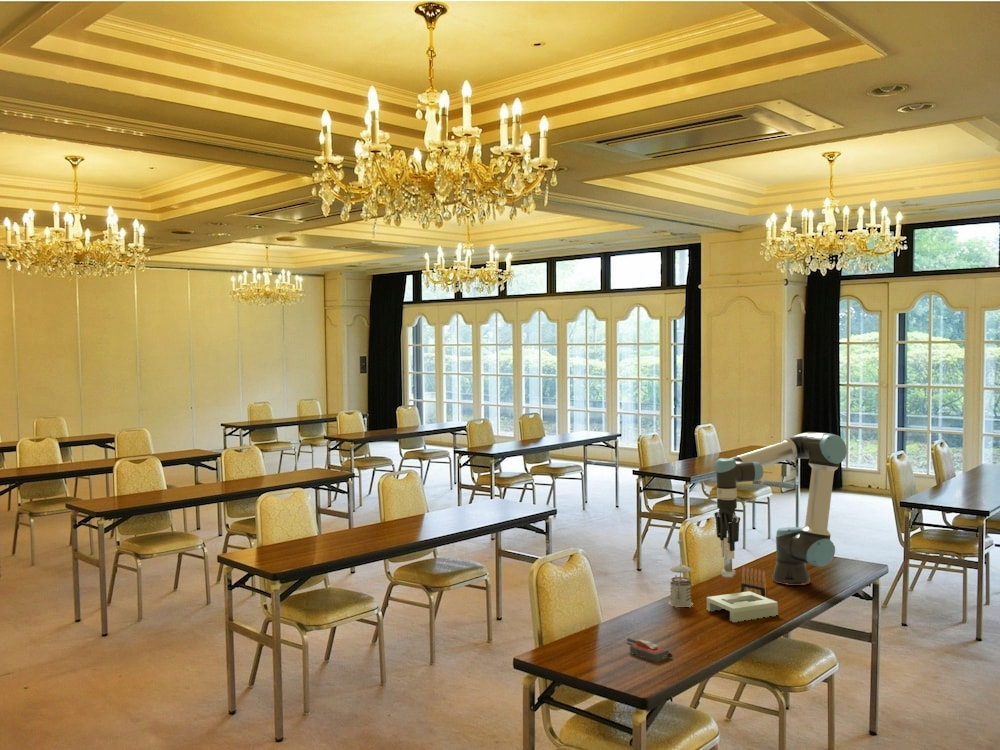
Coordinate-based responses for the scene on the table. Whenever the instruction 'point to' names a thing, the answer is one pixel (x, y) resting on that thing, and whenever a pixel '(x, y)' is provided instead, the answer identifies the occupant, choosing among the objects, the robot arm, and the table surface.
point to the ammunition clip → (754, 582)
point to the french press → (680, 586)
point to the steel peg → (727, 563)
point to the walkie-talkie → (648, 650)
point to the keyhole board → (743, 605)
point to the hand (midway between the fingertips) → (728, 557)
